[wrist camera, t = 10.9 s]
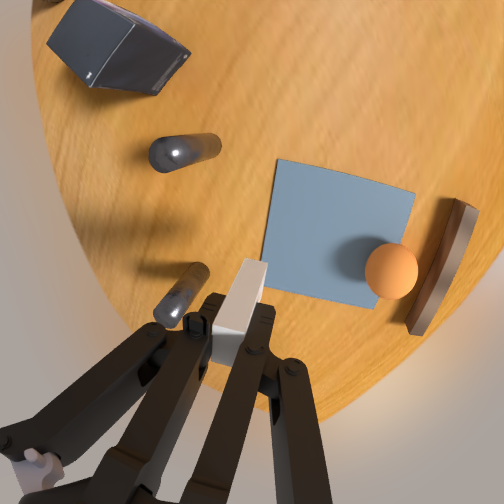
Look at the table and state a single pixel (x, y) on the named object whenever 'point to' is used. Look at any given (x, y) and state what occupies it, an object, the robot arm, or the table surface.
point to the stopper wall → (443, 267)
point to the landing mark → (329, 231)
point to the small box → (116, 48)
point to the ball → (391, 271)
